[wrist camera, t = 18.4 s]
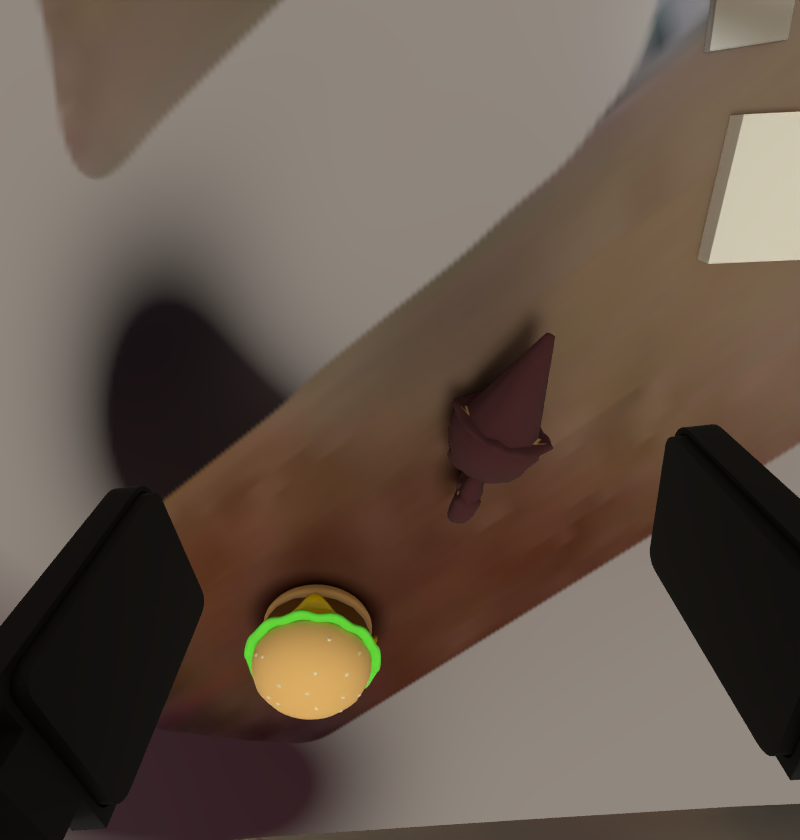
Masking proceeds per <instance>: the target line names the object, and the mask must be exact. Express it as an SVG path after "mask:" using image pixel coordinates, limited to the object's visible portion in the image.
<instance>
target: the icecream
mask: <svg viewBox="0 0 800 840" xmlns="http://www.w3.org/2000/svg"><path fill="white" fill-rule="evenodd" d="M554 339H555V336H554V335H552V334H550V333H546V334H545V335H544V336H543V337H541V338H540V339H539V340H538V341H537V342H536V343H535V344H534V345H533V346H532V347H531V348H529V349H528V350H527V351H526V352H525V353H524V354H523V355H522V356H521V357H520V358H519V359H518V360H517V361H516V362H514V363H513V364H512V365H511V366H510V367H509V368H508V369H507V370H506V371H505V372H504V373H502V374H501V375H500V376H499V377H498V378H497V379H496V380H495V381H494V382H493V383H491V384H490V385H489V386H488V387H487V388H486V389H485V390H484V391H483V392H482V393H479V392H478V393H470V394H468V395H466V396H463V397H457V398H454V402H452V404H453V407H454V410H455V412H454V413H453V415H452V418H451V421H450V425H449V428H448V429H449V447H450V449H449V452H448V457H449V459H450V461H451V462H452V464H453V465H454V467H456V468H457V469H459V470H461V471H462V472H461V474H460V477H459V479H458V483H457V488H456V492H455V495H454V497H453V499H452V502H451V504H450V506H449V510H448V518H449V520H450V521H451V522H453V523H465V522H466V521H468V520H469V519H470V518H471V517H472V516H473V515H474V513H475V512H476V510H477V509H478V507H479V505H480V502H481V501H480V498H481V495H482V493H483V484H484V483H504V482H510V481H512V480H514V479H516V478H518V477H520V476H521V475H522V474H523V472H524V471H525V470H526V469H528V468H529V467H530V466H532V465H533V464H534V463H536V462H537V461H538V459H539V456H540V455H542V454H544V453H546V452H548V451H550V450H552V449H553V447H552V445H551V441H550V439H549V437H548V436H547V435H546V434H544V433H543V431H542V429H541V427H540V426H541V420H542V413H543V407H544V401H545V395H546V389H547V383H548V376H549V370H550V364H551V359H552V353H553V347H554Z"/></svg>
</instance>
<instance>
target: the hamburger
mask: <svg viewBox="0 0 800 840" xmlns="http://www.w3.org/2000/svg"><path fill="white" fill-rule="evenodd" d="M371 634H372V623H371V618H370V616H369V613H368V611H367V610H366V608H365V607H364V605H363V604H362V603H361V602H360V601H359V600H358V599H357V598H356V597H355V596H353V595H351V594H350V593H348V592H346V591H344V590H342V589H339V588H336V587H333V586H327V585H315V584H314V585H305V586H300V587H296V588H293V589H291V590H288V591H287V592H285V593H283V594H281V595H280V596H279V597H278V598H277V599H275V600H274V601H273V602H272V604H271V605H270V606H269V608H268V609H267V612H266V614H265V616H264V622H263V623H262V624H261V625H260V626H259V627H258V628H257V629H256V630H255V631H254V632H253V633H252V634H251V635H250V636H249V638H248V640H247V642H246V646H245V651H244V657H245V659H246V661H247V663H248V666H249V669H250V672H251V674H252V676H253V678H254V682H255V685H256V688H257V690H258V692H259V694H260V695H261V696H262V697H263V698H264V699H265V700H266V701H267V702H268V703H269V704H270V705H271V706H273V707H274V708H275V709H276V710H278V711H279V712H281V713H283V714H285V715H288V716H291V717H295V718H300V719H321V718H326V717H329V716H332V715H334V714H336V713H338V712H342V711H343V710H344V709H346V708H348V707H349V706H351V705H352V704H353V703H354V702H355V701H356V700H357V699H358V698H359V696H360V695H361V693H362V692H363V690H364V689H365V688H367V687H368V685H369V684H370V683H371V681H372V679H373V678H374V676H375V675H376V673H377V672H378V671H379V669H380V664H381V653H380V649H379V647H378V646H377V639H378V638H377V636H373V638H372V636H371Z"/></svg>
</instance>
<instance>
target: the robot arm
mask: <svg viewBox="0 0 800 840" xmlns="http://www.w3.org/2000/svg"><path fill="white" fill-rule="evenodd" d="M650 558H651V562H652V565H653V568H654V569H655V571H656V573H657V575H658V576H659V578H660V580H661V582H662V583H663V585H664V587H665V588H666V590H667V592H668V594H669V595H670V597H671V598H672V600H673V602H674V604H675V605H676V607H677V609H678V610H679V612H680V614H681V615H682V617H683V619H684V621H685V622H686V624H687V625H688V627H689V629H690V631H691V632H692V634H693V636H694V637H695V639H696V641H697V642H698V644H699V646H700V647H701V649H702V651H703V653H704V654H705V656H706V658H707V659H708V661H709V662H710V664H711V666H712V668H713V669H714V671H715V673H716V675H717V676H718V678H719V680H720V681H721V683H722V685H723V686H724V688H725V690H726V691H727V693H728V695H729V696H730V698H731V700H732V702H733V703H734V705H735V707H736V708H737V710H738V712H739V713H740V715H741V717H742V718H743V720H744V722H745V723H746V725H747V727H748V729H749V730H750V732H751V733H752V735H753V737H754V739H755V740H756V742H757V744H758V745H759V746H760V748H761V749H762V750H763V751H764V752H765V753H766V754H767V755H769V756H776V757H777V759H778V761H779V762H780V764H781V766H782V767H783V769H784V771H785V772H786V774H787V776H788V777H789V779H790V780H800V498H799V497H797V496H796V495H795V494H794V493H793V492H792V491H791V490H790V489H788V488H787V487H786V486H785V485H784V484H783V483H782V482H781V481H780V480H779V479H777V478H776V477H775V476H774V475H773V474H772V473H771V472H770V471H769V470H768V469H766V468H765V467H764V466H763V465H762V464H761V463H760V462H759V461H758V460H756V459H755V458H754V457H753V456H752V455H751V454H750V453H749V452H748V451H746V450H745V449H744V448H743V447H742V446H741V445H740V444H739V443H738V442H737V441H735V440H734V439H733V438H732V437H731V436H730V435H729V434H728V433H727V432H725V431H724V430H723V429H722V428H721V427H719V426H718V425H714V424H711V425H702V426H693V427H683V428H680V429H678V431H677V432H676V434H675V437H670V438H668V440H667V442H666V445H665V452H664V459H663V465H662V472H661V479H660V485H659V492H658V499H657V505H656V512H655V519H654V525H653V532H652V538H651V545H650ZM203 606H204V596H203V592H202V590H201V587H200V585H199V583H198V580H197V578H196V576H195V574H194V571H193V569H192V567H191V565H190V562H189V560H188V558H187V555H186V553H185V551H184V549H183V546H182V544H181V542H180V540H179V537H178V535H177V533H176V530H175V528H174V526H173V524H172V521H171V519H170V517H169V515H168V512H167V510H166V508H165V505H164V503H163V501H162V499H161V497H160V495H159V494H157V493H155V492H153V493H152V492H151V490H150V489H149V488H147V487H146V486H137V487H128V488H118V489H113V490H111V491H110V492H108V493H107V494H106V496H105V497H104V498H103V499H102V501H101V502H100V503H99V504H98V506H97V507H96V508H95V509H94V511H93V512H92V513H91V514H90V516H89V517H88V518H87V519H86V520H85V522H84V523H83V524H82V525H81V527H80V528H79V529H78V530H77V532H76V533H75V534H74V536H73V537H72V538H71V539H70V541H69V542H68V543H67V544H66V546H65V547H64V548H63V549H62V550H61V552H60V553H59V554H58V555H57V557H56V558H55V559H54V560H53V562H52V563H51V564H50V566H49V567H48V568H47V569H46V570H45V571H44V573H43V574H42V575H41V576H40V578H39V579H38V580H37V581H36V583H35V584H34V585H33V586H32V588H31V589H30V590H29V591H28V593H27V594H26V595H25V596H24V597H23V599H22V600H21V601H20V602H19V604H18V605H17V606H16V607H15V609H14V610H13V611H12V612H11V614H10V615H9V616H8V617H7V619H6V620H5V621H4V622H3V624H2V625H1V626H0V840H63V839H64V837H65V835H66V832H67V830H68V828H69V827H70V829H71V830H72V831H73V830H87V829H101V828H107V825H108V823H109V821H110V818H111V816H112V813H113V811H114V808H115V806H116V804H119V803H120V802H122V801H123V800H124V799H125V798H126V796H127V795H128V793H129V790H130V789H131V786H132V784H133V781H134V779H135V776H136V774H137V771H138V769H139V766H140V764H141V761H142V759H143V757H144V754H145V752H146V749H147V747H148V744H149V742H150V739H151V737H152V734H153V732H154V729H155V727H156V725H157V722H158V720H159V717H160V715H161V712H162V710H163V707H164V705H165V702H166V700H167V698H168V695H169V693H170V690H171V688H172V685H173V683H174V680H175V678H176V675H177V673H178V670H179V668H180V666H181V663H182V661H183V658H184V656H185V653H186V651H187V648H188V646H189V643H190V641H191V638H192V636H193V634H194V631H195V629H196V626H197V624H198V621H199V619H200V616H201V614H202V611H203ZM238 840H800V804H787V805H765V806H742V807H722V808H707V809H690V810H674V811H658V812H642V813H626V814H611V815H595V816H594V815H593V816H577V817H561V818H546V819H531V820H514V821H500V822H485V823H469V824H454V825H439V826H426V827H410V828H395V829H380V830H366V831H352V832H337V833H324V834H307V835H293V836H278V837H265V838H253V839H252V838H251V839H238Z"/></svg>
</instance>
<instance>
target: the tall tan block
mask: <svg viewBox="0 0 800 840" xmlns="http://www.w3.org/2000/svg"><path fill="white" fill-rule="evenodd" d="M794 4H795V0H711V3H710V10H709V18H708V25H707V33H706V41H705V48H704V53H705V52H712V51H718V50H725V49H732V48H738V47H745V46H752V45H758V44H765V43H771V42H778V41H783V40H787V39H788V35H789V30H790V25H791V20H792V15H793V9H794Z"/></svg>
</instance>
